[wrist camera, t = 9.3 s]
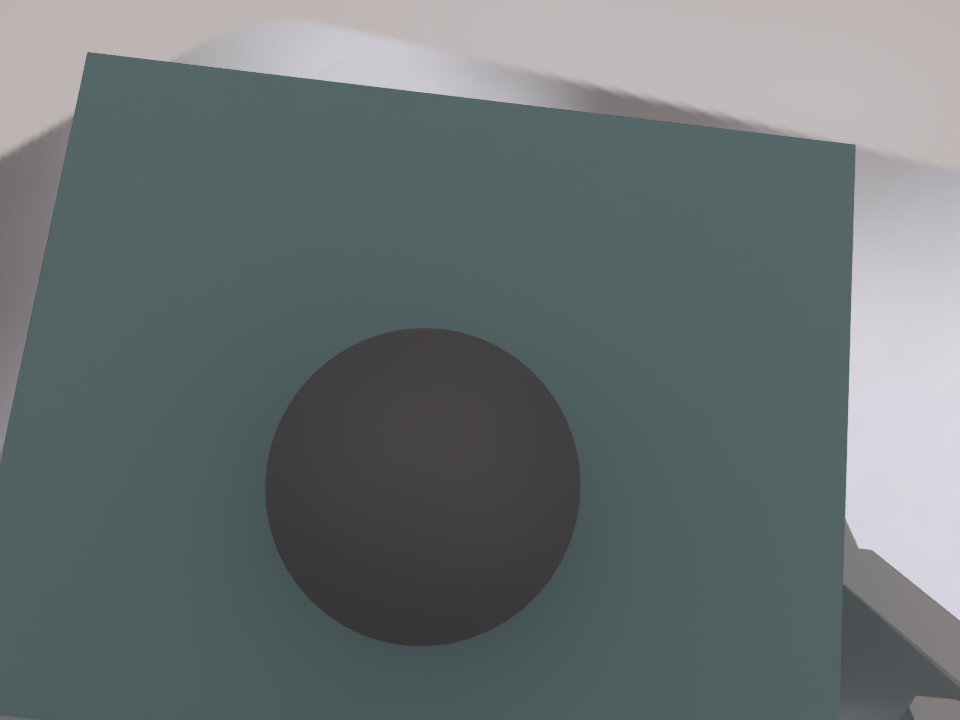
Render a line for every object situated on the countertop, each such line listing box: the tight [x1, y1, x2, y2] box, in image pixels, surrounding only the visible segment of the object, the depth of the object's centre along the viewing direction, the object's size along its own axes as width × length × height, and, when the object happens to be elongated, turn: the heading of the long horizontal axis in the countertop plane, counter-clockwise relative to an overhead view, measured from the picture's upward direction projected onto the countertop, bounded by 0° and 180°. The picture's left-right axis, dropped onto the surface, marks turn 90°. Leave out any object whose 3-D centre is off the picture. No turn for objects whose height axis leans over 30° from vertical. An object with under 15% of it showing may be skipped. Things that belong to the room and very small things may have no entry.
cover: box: [0, 52, 855, 720], centre depth 10 cm, size 6×6×11 cm
